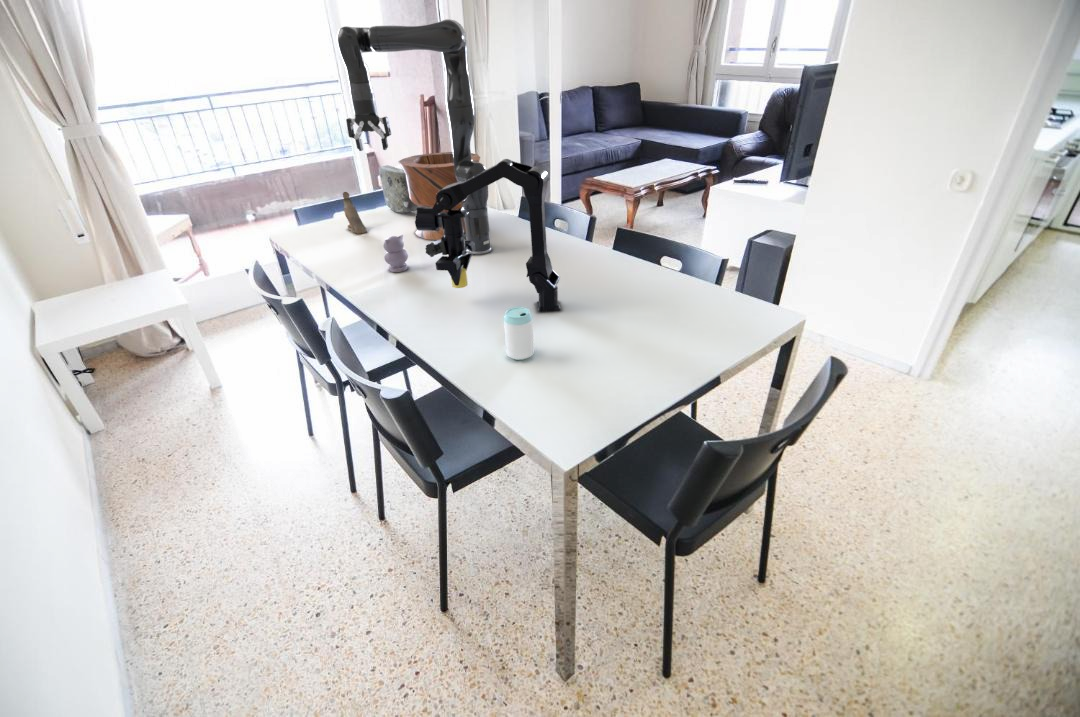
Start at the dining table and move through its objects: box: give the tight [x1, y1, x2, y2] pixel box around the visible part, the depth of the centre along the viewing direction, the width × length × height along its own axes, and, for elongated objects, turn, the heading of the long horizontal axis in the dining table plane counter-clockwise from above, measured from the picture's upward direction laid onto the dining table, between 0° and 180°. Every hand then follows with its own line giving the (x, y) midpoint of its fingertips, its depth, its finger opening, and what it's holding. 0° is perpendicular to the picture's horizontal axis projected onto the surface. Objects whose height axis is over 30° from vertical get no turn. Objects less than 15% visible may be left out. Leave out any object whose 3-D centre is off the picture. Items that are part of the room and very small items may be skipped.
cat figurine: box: [382, 234, 409, 273], centre depth 178 cm, size 8×8×12 cm
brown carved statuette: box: [342, 191, 368, 235], centre depth 221 cm, size 12×6×18 cm, turn 37°
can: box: [503, 306, 535, 361], centre depth 123 cm, size 7×7×12 cm
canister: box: [450, 268, 468, 289], centre depth 151 cm, size 5×5×5 cm
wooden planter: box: [398, 151, 481, 241], centre depth 212 cm, size 34×35×29 cm
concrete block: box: [378, 164, 419, 214], centre depth 245 cm, size 27×9×20 cm, turn 39°
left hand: (373, 150), depth 174 cm, fingers open, 8 cm apart
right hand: (459, 281), depth 151 cm, fingers closed on canister, 5 cm apart
